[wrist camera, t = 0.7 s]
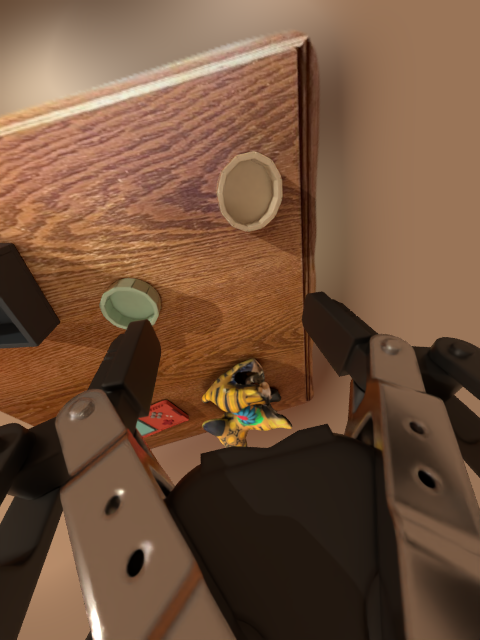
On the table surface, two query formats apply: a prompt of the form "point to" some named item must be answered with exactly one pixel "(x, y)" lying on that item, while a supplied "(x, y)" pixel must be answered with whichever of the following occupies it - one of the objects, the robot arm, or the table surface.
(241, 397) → the dog figurine
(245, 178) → the cream dish
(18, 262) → the tub
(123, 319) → the celadon dish
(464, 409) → the robot arm
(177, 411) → the handheld gaming console
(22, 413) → the table surface
